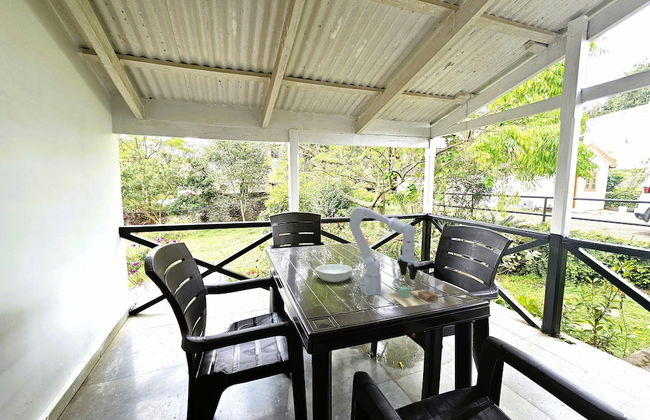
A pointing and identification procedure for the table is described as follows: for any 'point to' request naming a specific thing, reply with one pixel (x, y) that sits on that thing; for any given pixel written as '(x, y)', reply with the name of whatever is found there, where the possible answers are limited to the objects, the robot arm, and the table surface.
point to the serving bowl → (334, 272)
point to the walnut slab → (428, 296)
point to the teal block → (403, 292)
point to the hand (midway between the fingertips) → (407, 277)
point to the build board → (412, 299)
